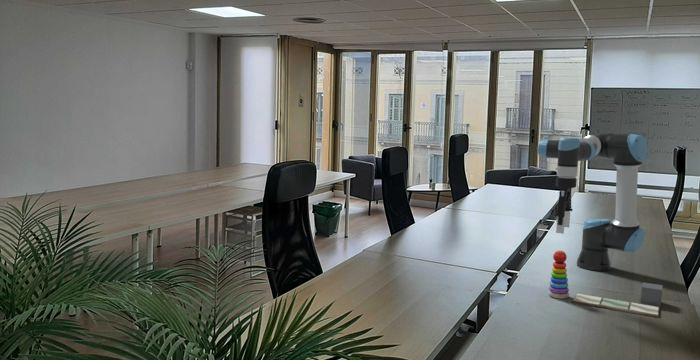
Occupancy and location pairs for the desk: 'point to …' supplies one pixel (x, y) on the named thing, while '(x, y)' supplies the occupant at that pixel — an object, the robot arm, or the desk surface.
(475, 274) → the desk surface
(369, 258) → the desk surface
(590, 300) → the board
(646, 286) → the grey plain cubic block
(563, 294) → the stacking toy
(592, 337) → the desk surface
